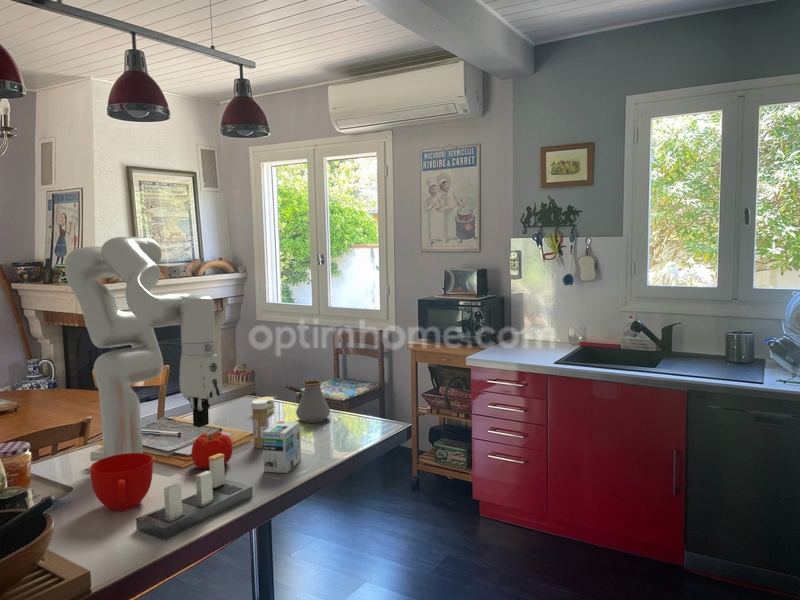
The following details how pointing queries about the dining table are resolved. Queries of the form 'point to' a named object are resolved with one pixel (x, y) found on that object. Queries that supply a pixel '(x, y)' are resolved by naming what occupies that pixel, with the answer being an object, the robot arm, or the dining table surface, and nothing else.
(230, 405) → the dining table surface
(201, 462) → the tomato
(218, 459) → the handle
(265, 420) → the sprinkles bottle
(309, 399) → the coffee pot
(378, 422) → the dining table surface
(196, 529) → the dining table surface
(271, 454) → the light bulb box
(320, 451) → the dining table surface
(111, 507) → the ceramic cup
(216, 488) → the breaker panel
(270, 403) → the stacked layers on plate
